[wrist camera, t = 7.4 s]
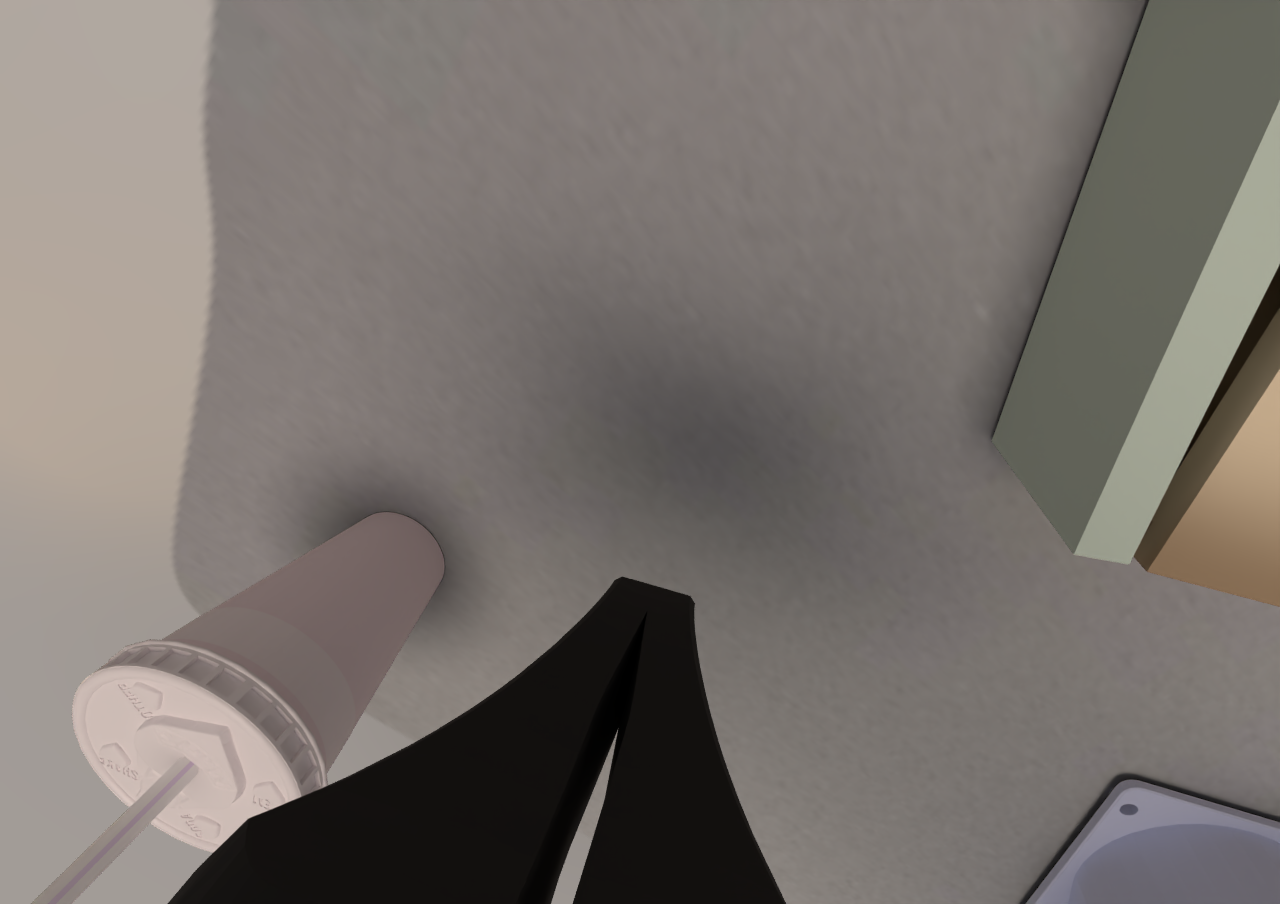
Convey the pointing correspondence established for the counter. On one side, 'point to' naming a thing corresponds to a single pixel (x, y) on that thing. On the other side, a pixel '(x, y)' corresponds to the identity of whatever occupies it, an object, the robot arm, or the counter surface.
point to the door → (1152, 274)
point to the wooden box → (1229, 478)
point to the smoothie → (250, 692)
